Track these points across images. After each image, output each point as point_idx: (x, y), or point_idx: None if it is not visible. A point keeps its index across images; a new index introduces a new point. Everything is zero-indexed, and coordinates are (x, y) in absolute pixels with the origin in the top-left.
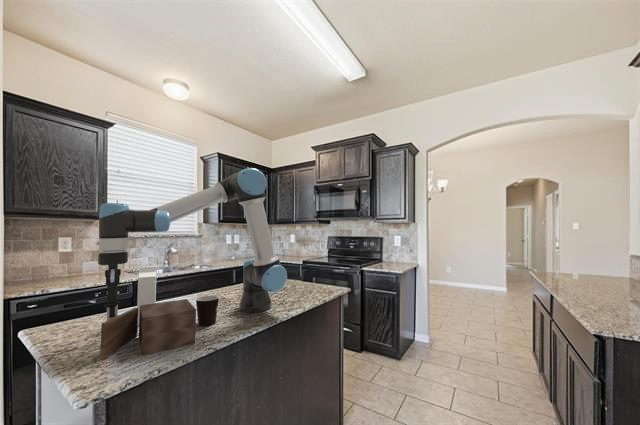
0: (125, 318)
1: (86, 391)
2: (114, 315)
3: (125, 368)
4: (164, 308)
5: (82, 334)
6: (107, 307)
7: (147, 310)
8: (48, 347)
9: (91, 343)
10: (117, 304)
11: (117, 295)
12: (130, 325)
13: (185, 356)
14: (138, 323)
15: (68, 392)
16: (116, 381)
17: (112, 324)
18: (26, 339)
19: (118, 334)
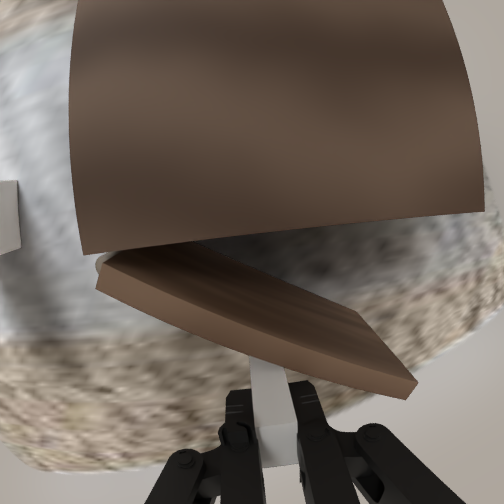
0: (261, 317)
1: (490, 299)
2: (312, 387)
3: (445, 237)
4: (316, 49)
5: (57, 398)
6: (296, 459)
7: (317, 175)
8: (143, 452)
9: (149, 375)
10: (319, 428)
11: (159, 482)
12: (206, 272)
13: None
14: (13, 242)
15: (474, 332)
16: (489, 249)
17: (370, 358)
18: (75, 474)
19: (305, 309)
